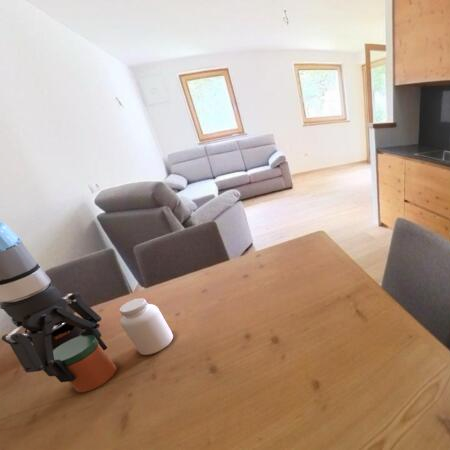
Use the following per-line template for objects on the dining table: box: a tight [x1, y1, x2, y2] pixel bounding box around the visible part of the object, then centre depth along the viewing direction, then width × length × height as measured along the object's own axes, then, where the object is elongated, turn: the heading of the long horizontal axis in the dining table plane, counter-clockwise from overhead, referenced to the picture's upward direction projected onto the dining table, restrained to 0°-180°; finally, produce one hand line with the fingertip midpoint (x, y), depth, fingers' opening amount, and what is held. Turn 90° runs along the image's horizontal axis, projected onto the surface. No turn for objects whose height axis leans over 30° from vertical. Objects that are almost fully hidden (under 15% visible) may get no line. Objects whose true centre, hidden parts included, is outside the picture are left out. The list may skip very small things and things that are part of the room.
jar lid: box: [53, 335, 98, 366], centre depth 66 cm, size 8×8×2 cm
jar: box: [66, 343, 117, 393], centre depth 69 cm, size 8×8×10 cm
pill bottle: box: [119, 297, 174, 356], centre depth 77 cm, size 8×8×15 cm
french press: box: [0, 306, 85, 350], centre depth 78 cm, size 12×9×23 cm
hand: (85, 364), depth 69 cm, fingers closed on jar lid, 8 cm apart
